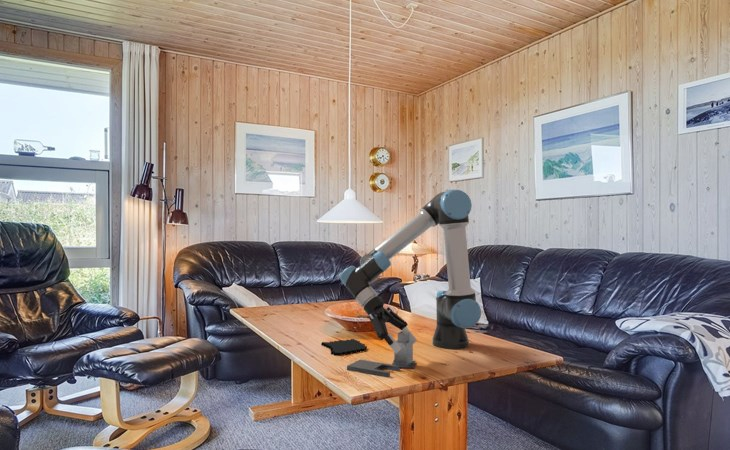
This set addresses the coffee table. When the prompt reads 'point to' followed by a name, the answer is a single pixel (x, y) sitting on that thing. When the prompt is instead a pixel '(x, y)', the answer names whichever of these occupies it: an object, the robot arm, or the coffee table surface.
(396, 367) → the slotted plate
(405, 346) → the stepped metal tower
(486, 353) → the coffee table surface
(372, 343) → the coffee table surface
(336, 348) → the decorative item
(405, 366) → the pad
